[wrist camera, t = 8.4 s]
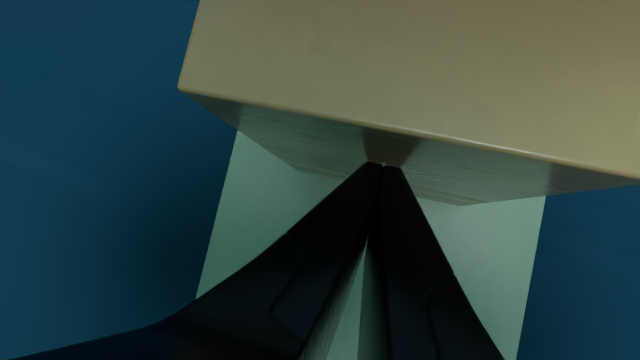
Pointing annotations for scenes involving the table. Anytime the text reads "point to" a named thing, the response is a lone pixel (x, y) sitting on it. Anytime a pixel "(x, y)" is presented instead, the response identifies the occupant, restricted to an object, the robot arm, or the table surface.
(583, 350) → the table surface
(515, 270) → the board
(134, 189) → the table surface
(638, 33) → the birch block
